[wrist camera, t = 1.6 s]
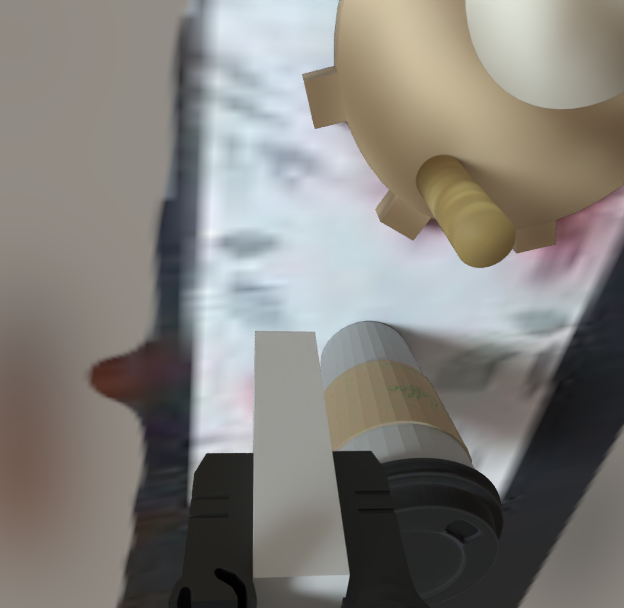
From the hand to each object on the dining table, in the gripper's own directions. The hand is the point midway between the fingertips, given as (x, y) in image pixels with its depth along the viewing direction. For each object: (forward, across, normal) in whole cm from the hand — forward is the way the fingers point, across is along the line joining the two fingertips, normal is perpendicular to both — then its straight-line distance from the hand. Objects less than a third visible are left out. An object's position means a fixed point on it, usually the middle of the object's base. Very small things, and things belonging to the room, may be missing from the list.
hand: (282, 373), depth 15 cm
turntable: (+17, +12, +6) cm, 22 cm away
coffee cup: (+18, +7, -14) cm, 24 cm away
